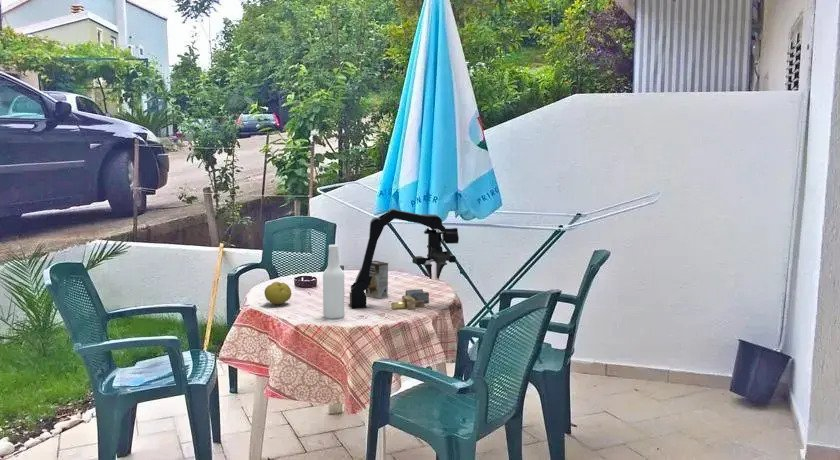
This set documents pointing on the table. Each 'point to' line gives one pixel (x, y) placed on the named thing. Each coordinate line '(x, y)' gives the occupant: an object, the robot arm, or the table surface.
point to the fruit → (278, 293)
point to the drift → (419, 304)
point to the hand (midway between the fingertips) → (434, 278)
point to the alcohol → (333, 286)
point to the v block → (418, 295)
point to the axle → (399, 305)
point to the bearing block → (409, 302)
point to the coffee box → (378, 280)
